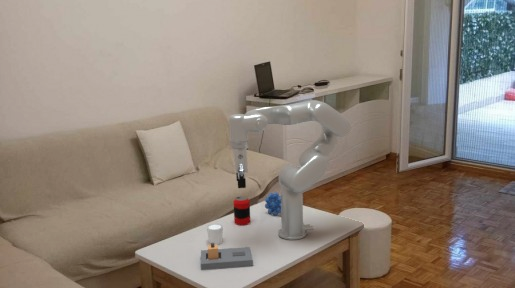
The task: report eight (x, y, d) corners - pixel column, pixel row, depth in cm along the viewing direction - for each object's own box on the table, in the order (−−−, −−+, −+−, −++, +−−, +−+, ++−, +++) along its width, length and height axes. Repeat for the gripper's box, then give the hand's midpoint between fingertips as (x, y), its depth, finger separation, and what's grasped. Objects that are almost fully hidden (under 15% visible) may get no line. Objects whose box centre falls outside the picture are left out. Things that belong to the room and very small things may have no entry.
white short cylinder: (226, 239, 218) (225, 224, 216) (219, 246, 211) (219, 230, 210) (211, 237, 220) (210, 223, 218) (205, 244, 214) (204, 229, 212)
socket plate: (250, 252, 204) (250, 246, 204) (252, 265, 193) (252, 259, 192) (201, 256, 203) (201, 250, 202) (201, 269, 191) (200, 263, 190)
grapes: (289, 215, 243) (289, 191, 241) (281, 219, 238) (280, 195, 236) (270, 210, 251) (270, 187, 248) (262, 214, 246) (261, 191, 243)
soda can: (241, 218, 241) (239, 194, 239) (253, 221, 237) (252, 197, 234) (231, 223, 235) (230, 199, 233) (243, 226, 231) (242, 202, 228)
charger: (218, 259, 199) (217, 240, 197) (218, 263, 195) (217, 244, 194) (208, 260, 199) (207, 241, 197) (208, 264, 195) (207, 245, 193)
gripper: (250, 148, 196) (251, 190, 200) (246, 139, 213) (248, 177, 217) (231, 149, 195) (233, 191, 199) (229, 140, 212) (231, 178, 216)
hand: (241, 184), depth 208 cm, fingers open, 9 cm apart
